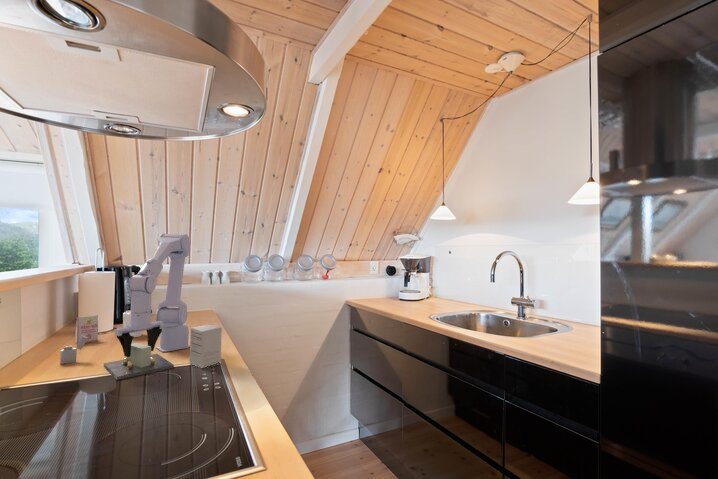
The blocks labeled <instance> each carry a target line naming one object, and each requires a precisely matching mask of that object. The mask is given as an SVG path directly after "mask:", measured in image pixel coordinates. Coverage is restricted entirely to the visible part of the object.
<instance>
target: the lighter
mask: <svg viewBox="0 0 718 479" xmlns="http://www.w3.org/2000/svg"><path fill="white" fill-rule="evenodd" d="M87 339H88V337H85V336H83V337H82V338H81V340H80V342H79V343H78V344H76V346H75V347H73V345H68V346H67V345H66V346H65V347H63V349H60V352H59V353H60V354H59V364H60V365H64V363H65V364H69V363H70V364H71V363H75V362H77V350H80V351H81V350H82V349H83V348H84V345H85V344H86V343H87V342H86V341H87Z"/></svg>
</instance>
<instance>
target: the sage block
mask: <svg viewBox="0 0 718 479" xmlns="http://www.w3.org/2000/svg"><path fill="white" fill-rule="evenodd" d="M151 355H152V351H151V346H148V344H142V343H141V342H140V343H139V342H132V344H131V355H130V357H128V362H129V361H133V365H135V366H138V367H141V368H142V367H145V366H149V365H151Z"/></svg>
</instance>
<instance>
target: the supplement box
mask: <svg viewBox="0 0 718 479" xmlns="http://www.w3.org/2000/svg"><path fill="white" fill-rule="evenodd" d="M222 329H223V328H222V327H221V326H218V325H213V324H211V323H210V324H209V323H208V324H203V325H198V326H192V327H190V338H189V339H190V343H189V344H190V345H189V365H190V364H192V365H195V366H198V367H201V368H203V367H207V366H210V365H213V364H216V363H218V362H221V361H222V359H221V358H222V356H221V355H222V333H223V332H222V331H223V330H222ZM192 365H191V366H192ZM195 366H194V367H195ZM207 368H208V367H207Z"/></svg>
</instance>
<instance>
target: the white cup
mask: <svg viewBox="0 0 718 479" xmlns="http://www.w3.org/2000/svg"><path fill="white" fill-rule="evenodd" d="M130 318H131V310H129V311H124V312H123V313H122V320H123V321H122V324H123V326H122V327H125V326H129V325H130ZM143 332H144V331H139V332H133V333H129V334H130V335H131V336H133V338H137V337H141V336H143V334H144V333H143Z"/></svg>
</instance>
